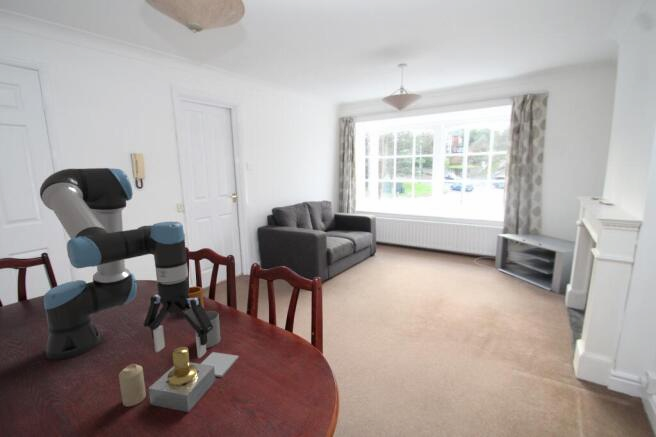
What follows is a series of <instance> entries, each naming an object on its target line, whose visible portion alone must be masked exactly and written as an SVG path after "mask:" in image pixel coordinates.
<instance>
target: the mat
mask: <svg viewBox="0 0 656 437" xmlns="http://www.w3.org/2000/svg"><path fill="white" fill-rule="evenodd" d="M238 359H239V355H234V354H228V353H221V352H215V351H212V352H211V353H210V354H209V355H208V356H207V357H206V358H205V359H204V360H203V361H202V362H200V364H203V365H210V366H214V371H215V377H219V378H223V377H224V375H225V374H226V373H227V372H228V371H229V370H230V369H231V367H232V366H233V365H234V364H235V362H236V361H237V360H238Z"/></svg>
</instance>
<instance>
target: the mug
mask: <svg viewBox="0 0 656 437" xmlns="http://www.w3.org/2000/svg"><path fill="white" fill-rule="evenodd" d="M203 291H204V290H203V287H201V286H191V287H190V286H189V293H188V295H189V297H190V298H195V297H197V296H198V297H200V301H201V305H202V307H203V309H204V308H205V305H204V304H205V303H204V292H203ZM187 310H188V309H187V308H186V310H185V311H187Z"/></svg>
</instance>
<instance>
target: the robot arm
mask: <svg viewBox="0 0 656 437" xmlns="http://www.w3.org/2000/svg"><path fill="white" fill-rule="evenodd" d="M133 194H134V192H133V188H132V183H131V181H130V178H129V177H128V175H127V174H126V172H125V171H124V170H122V169H120V168H110V167H102V168H101V167H99V168H98V167H95V168H94V167H93V168H90V167H89V168H88V167H87V168H66V169H61V170H59V171H55V172H54V173H51V175H49V176H48V177H47V178H45V179H44V181H43V182H42V184H41V186H40V189H39V197H40V199H41V201H42V203H43V205H44V206H45V207H46V208H48V209H49V210H51V211H53V213H54V215H55V216H56V217H57V219H58V220H59V222H60V224H61V226H62V227H63V229H64V230H65V232H66V233H67V235H68V237H69V238H70V239H69V240H67V243H66V250H67V257H68V259H69V262H70V265H71V266H72V267H73V268H75V269H84V268H88V267H91V268H93V267H96V272H95V273H94V274H93V276H92V281H91V282H86V281H85V280H81V279H80V280H79V279H77V280H75V281H74V280H71V281H69V282H67V281H66V282H65V283H62V284H59V285H56V286H55V287H52V288H51V289H49V290H48V291H47V292H46V293H45V294H44V295H43V304H44V305H43V308H44V310H45V314H46V321H47V326H48V332H49V334H48V337H47V338H48V339H47V343H46V347H45V350H44V351H45V356H46V358H47V359H49V360H65V359H70V358H72V357H76V356H80V355H82V354H84V353H87V352H88V351H90V350H92V349H93V348H95V347H97V346H98V345H99V343H100V342H101V336H100V335H101V334H100V332H99V331H98V329H97V328H96V326H95V324H94V323H93V321H92V315H93V314H94V315H95V314H97V313H100V312H104V311H107V310H110V309H113V308H116V307H121V306H123V305H125V304H129V303H131V302H132V301H133V300H134V299H135V297H136V296H137V291H138V285H137V279H136V277H135V275H134V274H133V273H132V272H131V271H130V270H129V269H128V268H126V264H125V262H126V261H125V260H127V259H128V260H129V259H133V258H138V257H142V256H146V255H147V256H148V255H152V256H153V258H154V259H153V260H154V267H155V276H156V282H157V293H156V294H154V295H153V296H152V295H151V296H150V305H149V308H148V311H147V314H146V317H145V318H144V323H143V326H144V327H146V328H147V327H148V328H149V329H150V330H151V336H152V337H151V338H152V340H153V341H154V342H153V343H154V351H155V353H159V352H160V351H162V350H163V349H164V348H165V347H166V345H165V344H166V343H165V336H164V326H163V325H162V322H163V321H164V319H165V318H166V317H167V315H168V314H175V315H180V316H181V317H183V318H185V320H186V321H187V322H188V324H190V326H191V327H192V329H194V332H195V331H196V332H197V333H198V334H197V335H196V337H195V345H196V344H197V345H196V351H197V352H196V354H197V358H198V359H201V358H202V357H203V356H204V355H205V354H206V353H207V348H206V343H207V333H208V332H209V331H211V330H212V329H213V326H212V324H211V322H210V320H209V318H208V316H207V314H206V312H207V311H205V309H204V308H203V307H202V305H201V301H200V297H198V296H197V297H195V298H190V297H189V295H188V293H189V287H190V281H189V280H190V279H189V278H188V276H189V268H188V262H187V252H186V251H187V249H186V241H185V240H186V234H185V232H184V227H183V223H181V222H180V221H162V222H156V223H153V224H152V225H142V226H139V227H137V228H134V229H128V230H124V228H123V226H124V225H123V213H122V212H123V210H124V209H125V208H126V207H127V201H131V200H132V199H133ZM161 305H162V307H161V308H160V306H161ZM159 308H160V310H159ZM186 308H187V309H188V310H187V311H185V310H186ZM201 328H202V329H201Z"/></svg>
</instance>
